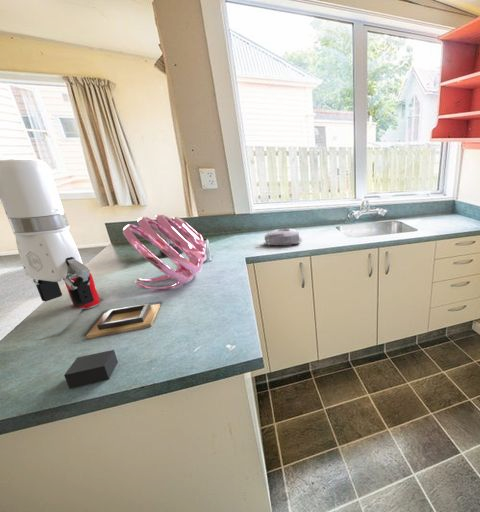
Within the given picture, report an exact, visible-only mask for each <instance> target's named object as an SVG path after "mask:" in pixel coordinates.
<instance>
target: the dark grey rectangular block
mask: <svg viewBox="0 0 480 512" xmlns="http://www.w3.org/2000/svg"><path fill="white" fill-rule="evenodd" d="M118 363H119V361H118V357H117V354H116V352H115V349H111V350H110V349H109V350H106V351H101V352H97V353H91V354H87V355H82V356H77V357H76V359H74V361H73V362H72V364H71V365H70V367H69V368H68V369H67V370H66V371H65V373H64V375H63V377H64V380H65V381H66V384H67V387H68V389H69V390H70V389H74V388H78V387H81V386H86V385H91V384H94V383H98V382H99V383H100V382H103V381H107V380H110V378H111V376H112V375H113V372H114V370H115V368H116V366H117V365H118Z"/></svg>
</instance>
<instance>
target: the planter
mask: <svg viewBox="0 0 480 512" xmlns="http://www.w3.org/2000/svg"><path fill="white" fill-rule="evenodd" d="M203 240H204V241H205V243H206V247H205V252H206V254H207V257H206V260H205V261H204V262H203V263H208V262H207V261H209V262H212V260H213V259H212V253H211V248H210V242H209V239H208V238H203ZM198 244H199V243H198ZM199 245H200V244H199Z"/></svg>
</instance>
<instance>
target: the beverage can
mask: <svg viewBox="0 0 480 512" xmlns="http://www.w3.org/2000/svg"><path fill="white" fill-rule="evenodd" d="M68 275H70V274H68ZM89 277H90V280H89V282H90V285H89V286H90V289H91V293H92V296H93V299H94V301H93V302H91V303H88V304H85V305H83V306H80V307H75V306H74V304H73V301H72V298H71V295H70V292H69V290H70V289H71V288H70V287H69V286H68V285H67V284H66V282H65V281H64V283H65V287H66V289H67V292H68V294H69V298H70V300H71V303H72V306H73V308H78V309H79V308H80V309H81V308H82V309H81V310H82V311H83V310H89V309H93V308H95V307H97V306H98V305H99V304H100V303H101V299H100V296H99V293H98V290H97V287H96V284H95V281H94V278H93V274H92V273H91V272H90V273H89ZM76 278H77V277H76ZM76 278H73V279H71V280H72V281H73V282H75V280H76Z"/></svg>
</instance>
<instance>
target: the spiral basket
mask: <svg viewBox="0 0 480 512" xmlns="http://www.w3.org/2000/svg"><path fill="white" fill-rule="evenodd" d="M155 219H156V220H154V219H153V218H151V217H149V216H141V217H140V218H138V219H137V224H138V225H136V224H133V223H129V224H127V225H125V226H124V227H123V229H122V234H123V236H124V237H125V239H126V240H127V242H128V243H129V244H130V245H131V246H132V248H134V250H136V252H138V253H139V254H140V255H141V256H142V257H143V258H144V259H145V260H146V261H147V262H149V263H150V264H151V265H153V266H154V267H155V268H156V269H158V270H159V271H160V272H162V273H163V274H165V275H163V276H159V277H154V278H136V281H135V284H136V285H138V286H139V287H141V288H144V289H149V290H154V291H155V290H157V291H158V290H159V291H161V290H162V291H163V290H169V289H175V288H177V287H180V286H182V285H184V284H187V283H190V282H191V281H192V280H193V279H194V277H195V276H196V275H198V274H199V273H201V271H202V269H203V264H204V263H205V262H204V261H205V260H206V257H207V254H206V252H205V247H206V243H205V241H204V240H203V239H204V238H203V236H202V234H201V233H200V232H197V231H196V230H195V229H194V228H193V227H192V226H191V225H189V224H188V223H187V221H185V220H184V219H182V218H180V217H177V216H173V219H171V218H170V217H168V216H167V215H164V214H155ZM154 228H155V229H156V230H158V231H159V232H160V233H162V234H163V235H164V236H166V237H167V238H168V239H169V240H170V241H172V242H173V243H174V244H175V245H176V246H177V247H178V248H179V249H180V250H181V251H182V253H183V254H184V255H186V257H187V258H188V259H187V258H185V257H184V256H183V255H181V254H179V253H178V252H177V251H175V250H174V249H173V248H172V247H171V246H170V245H168V244H167V243H166V242H165V241H164V240H163V239H162V238H161V237H160V236H159V235H158V234H157V233H156V232H155V229H154ZM174 228H175V229H176V230H177V231H176V230H175V229H174ZM134 233H135V234H136V235H138V236H139V237H142V238H143V239H145V240H146V241H148V243H150V244H152V245H153V246H154V247H156V248H157V249H158V250H159V251H160V250H161V251H162V252H163V253H164V254H165V255H166V256H168V258H169V260H170V261H172V262H173V264H175V266H176V267H177V269H176V270H175V269H172V268H171V267H170V266H169V265H167V264H166V263H164V262H163V261H162V260H161V259H159V258H158V257H157V256H156V255H155V254H153V253H152V252H151V251H150V250H149V249H148V248H147V247H146V246H145V245H144V244H143V243H142V242H141V240H139V239H138V238H137V237H136V235H135V234H134ZM183 236H184V237H185V238H186V239H187V240H188V241H189V242H188V241H187V240H185V239H184V238H183ZM198 243H199V244H200V245H199V244H198ZM169 279H173V280H175V281H177V282H176V283H175V284H171V285H167V286H150V285H147V284H144V283H155V282H160V281H161V282H162V281H167V280H169ZM142 282H144V283H142Z"/></svg>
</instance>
